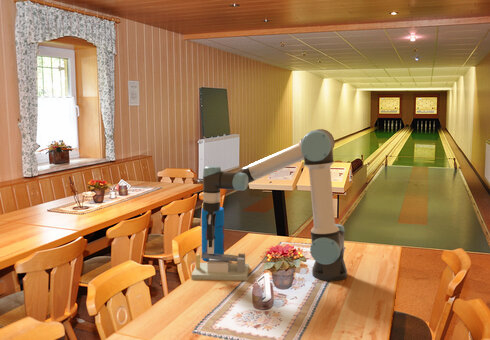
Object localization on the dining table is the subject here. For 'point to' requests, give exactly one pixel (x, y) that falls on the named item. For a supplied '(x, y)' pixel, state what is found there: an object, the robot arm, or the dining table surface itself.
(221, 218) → the thermos
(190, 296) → the dining table surface
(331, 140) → the robot arm
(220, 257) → the clamp lever
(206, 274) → the clamp board
